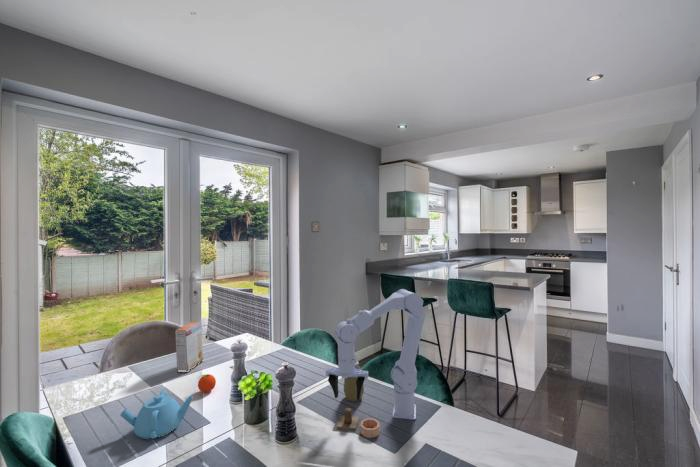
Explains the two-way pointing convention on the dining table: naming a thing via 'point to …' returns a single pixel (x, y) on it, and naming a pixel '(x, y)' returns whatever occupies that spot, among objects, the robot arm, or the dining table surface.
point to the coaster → (347, 430)
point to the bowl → (370, 428)
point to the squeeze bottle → (352, 386)
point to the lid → (348, 421)
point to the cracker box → (189, 345)
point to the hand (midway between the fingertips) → (347, 397)
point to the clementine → (206, 383)
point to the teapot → (157, 416)
